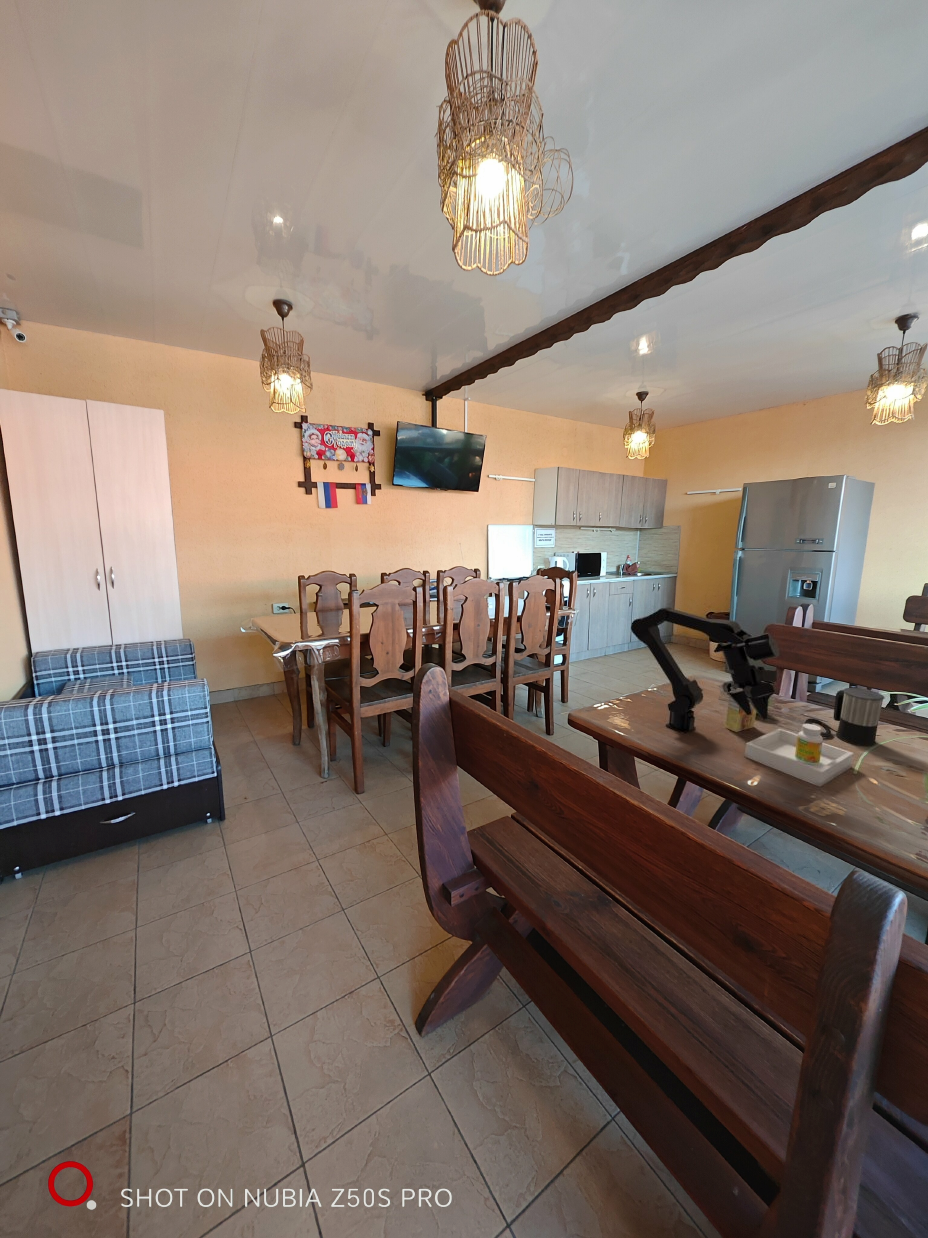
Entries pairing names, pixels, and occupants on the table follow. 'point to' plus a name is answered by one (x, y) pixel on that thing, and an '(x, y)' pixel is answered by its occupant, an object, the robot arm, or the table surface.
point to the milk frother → (855, 716)
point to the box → (781, 756)
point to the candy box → (739, 717)
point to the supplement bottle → (809, 744)
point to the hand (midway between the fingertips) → (757, 717)
